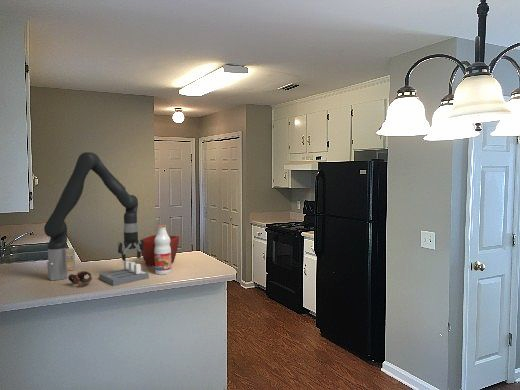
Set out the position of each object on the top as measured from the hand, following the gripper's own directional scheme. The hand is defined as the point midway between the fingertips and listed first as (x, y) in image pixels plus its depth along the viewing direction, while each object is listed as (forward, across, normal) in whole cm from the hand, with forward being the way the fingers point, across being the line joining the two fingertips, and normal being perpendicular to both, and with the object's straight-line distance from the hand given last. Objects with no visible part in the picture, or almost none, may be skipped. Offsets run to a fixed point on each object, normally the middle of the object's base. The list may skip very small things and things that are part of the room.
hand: (131, 259), depth 237 cm
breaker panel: (+10, -5, 0) cm, 11 cm away
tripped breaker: (+7, 0, 0) cm, 7 cm away
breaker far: (+7, 0, +6) cm, 9 cm away
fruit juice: (+10, +17, -5) cm, 20 cm away
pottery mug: (+11, -27, +5) cm, 29 cm away
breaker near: (+7, 0, -7) cm, 9 cm away
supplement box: (+11, -21, +43) cm, 49 cm away
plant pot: (+10, +26, +15) cm, 32 cm away
